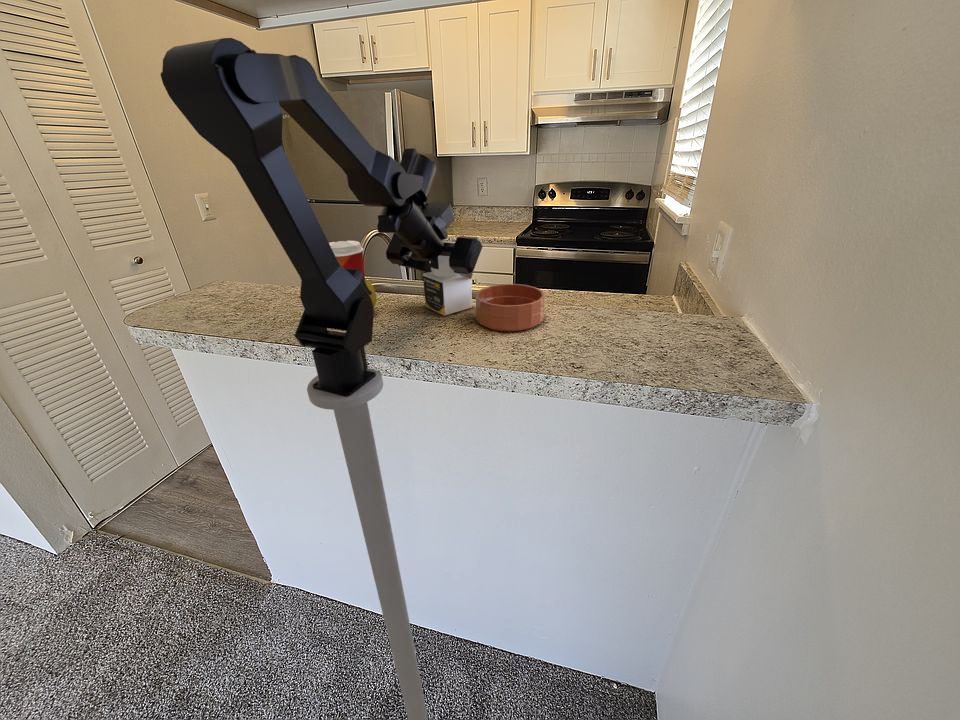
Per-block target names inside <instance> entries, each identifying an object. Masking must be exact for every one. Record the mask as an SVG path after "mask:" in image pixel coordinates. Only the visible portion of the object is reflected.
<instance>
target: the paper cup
mask: <svg viewBox="0 0 960 720" xmlns="http://www.w3.org/2000/svg"><path fill="white" fill-rule="evenodd" d="M329 244H330V246H331V248H332V251H333V253H334V255H335V257H336V259H337V261H338V263H339V264H340V265H341V266H342V267H343V268H348V269H359V270H360V271H361V273H362V274H363V276H364V279H366V274H365V273H366V272H365V265H364V255H363V252H364V248H363V247H362V245H361V243H360V242H359V241H357V240H339V241H332V242H331V241H330V242H329Z"/></svg>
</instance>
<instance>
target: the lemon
mask: <svg viewBox="0 0 960 720" xmlns="http://www.w3.org/2000/svg"><path fill="white" fill-rule="evenodd" d="M365 283H366V285H367V287H368V289H369V290H370V291H371V292H372V295H369V296H370V298H371V300H372V303H373V308H374V309H375V307H376V304H377V291H376V290H375V287H374V286H373V283H372V282H371V281H369V280H368V279H366V278H365Z"/></svg>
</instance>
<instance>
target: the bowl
mask: <svg viewBox="0 0 960 720" xmlns="http://www.w3.org/2000/svg"><path fill="white" fill-rule="evenodd" d="M545 297H546V296H545V292H544V290H541V289H540V288H538V287H535V286H531V285H529V284H520V283H502V284H495V285H494V284H493V285H490V286H486V287H483V288H481V289H479V290H478V291H477V292H476V293H475V319H476V322H478V323H479V324H480V326H481V325H482V326H483V327H485V328H486V329H490V330H494V331H498V332H499V331H500V332H520V331H525V330H530V329H532V328H534V327H537V326H538V325H540V324H541V323H542V322H543V320H544V319H545V303H546V302H545V301H546V300H545V299H546V298H545Z"/></svg>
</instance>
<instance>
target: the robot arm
mask: <svg viewBox="0 0 960 720" xmlns="http://www.w3.org/2000/svg"><path fill="white" fill-rule="evenodd" d="M161 69H162V71H160V79H161V81H162V85H163V87H164V89H165V91H166V93H167V95H168V97H169V98H170V99H171V101H172V102H173V104H174V105H175V106H176V107H177V109H178V110H179V111H180V112H181V114H182V115H183V116H184V118H185V119H186V120H187V122H188V123H189V124H190V126H192V127H193V129H194V130H195V132H196V133H197V134H198V135H199V136H200V137H201V138H203V139H204V140H205V141H207V143H209V144H210V145H211V146H212V147H214V148H215V149H216V150H217V151H218V152H220V153H221V154H222V155H223V156H224V157H226V158H227V159H228V160H229V161H231V163H232V164H233V165H234V167H235V169H236V170H237V172H238V174H239V176H240V177H241V179H242V181H243V182H244V184H245V186H246V187H247V189H248V191H249V193H250V194H251V196H252V198H253V199H254V201H255V203H256V205H257V206H258V208H259V209H260V212H261V213H262V215H263V217H264V218H265V220H266V222H267V223H268V225H269V227H270V229H271V230H272V232H273V233H274V235H275V237H276V239H277V240H278V242H279V244H280V245H281V248H282V249H283V251H284V252H285V254H286V255H287V257H288V259H289V261H290V263H291V264H292V266H293V268H294V269H295V271H296V272H297V274H298V277H299V278H300V280H301V281H300V289H299V290H300V291H299V299H300V301H301V304H302V306H303V308H304V309H303V312H302V315H301V318H300V320H299V323H298V325H297V327H296V330H295V333H294V337H295V339H296V341H297V342H298V344H299V345H300V346H301V347H304V348H305V347H309V348H313V349H312V350H311V354H312V358H313V362H314V367H315V370H316V375H318V378H319V381H317V382H316V383H314V384H313V385H312V386H313V388H314V389H317V390H321V391H325V392H329V393H332V394H336V395H340V396H344V397H348V396H350V395H352V394H353V393H354V392H356V391H357V390H358V389H360V388H361V387H362V386H364V385H365V384H366V383H368V382H369V381H370V380H371V379H373V378H374V377H375V376H376V373H375V372H372V371H367V369H369V367H368V361H367V355H366V350H365V346H367V345H369V344H370V343H371V342H372V341H373V331H374V312H375V307H374V308H373V303H372V300H371V298H370V296H369V295H372V292H371V291H370V290H369V289H368V287H367V285H366V283H365V279H366V278H365V279H364V276H363V274H362V273H361V271H360V270H359V269H348V268H343V267H342V266H341V265H340V264H339V263H338V261H337V259H336V257H335V255H334V253H333V251H332V248H331V246H330V244H329V243H330V242H329V240H328V238H327V237H326V234H325V232H324V230H323V228H322V226H321V224H320V222H319V220H318V218H317V216H316V214H315V211H314V210H313V207H312V206H311V205H312V204H310V201H309V199H308V198H307V195H306V193H305V192H304V189H303V187H302V185H301V183H300V181H299V179H298V177H297V175H296V172H295V171H294V168H293V166H292V165H291V163H290V161H289V158H288V156H287V155H286V152H285V150H284V147H283V144H282V143H283V111H285V113H286V114H288V116H290V118H291V119H292V120H293V121H294V122H295V123H296V124H297V125H298V126H299V127H300V128H301V129H302V130H303V131H304V132H305V133H306V134H307V135H308V136H309V137H310V138H311V139H312V140H313V141H314V142H315V143H316V144H317V145H318V146H319V147H320V148H321V149H322V150H323V151H324V152H325V153H326V155H328V156H329V158H331V160H333V161H334V162H335V164H337V166H339V167H340V169H341V170H342V171H343V173H344V174H345V176H346V182H347V186H348V187H347V188H349V190H350V191H351V192H352V194H353V195H354V196H355V198H356V199H357V200H358V202H359V203H360V204H361V205H362V206H364V207H371V208H372V207H374V208H375V207H377V208H382V209H381V212H380V214H378V215H377V220H378V222H377V225H376V228H377V232H378V233H379V234H387V233H388V234H391V233H392V236H391V238H390V241H389V244H388V246H387V248H386V250H385V255H386V259H387V260H388V261H389V262H390V263H391V264H393V265H398V266H400V267H403V268H408V269H412V270H415V271H420V272H423V273H428V272H432V271H431V263H430V262H435V260H436V257H438V256H439V255H441V256H450V257H449V266H450V268H451V269H452V270H454V273H456V274H459V275H461V276H463V277H466V278H468V279H471V280H472V278H473V275H474V274H473V272H474V270H475V268H476V266H477V262H478V260H479V257H480V254H481V252H482V249H483V247H484V246H483V244H482V243H481V241H480V239H479V238H478V237H477V236H466V235H460V236H457V237H456V239H455V241H454V242H446V241H444V240H447V238H448V235H449V232H448V231H447V229H448V228H449V227H450V225H451V224H453V222H455V220H456V217H455V214H454V211H453V208H452V205H451V202H449V201H431V202H427V201H428V199H429V195H430V192H431V189H432V186H433V183H434V180H435V177H436V173H437V165H436V163H435V162H434V161H432V160H431V159H430V158H429V157H427V156H426V155H424V154H422V153H419V152H418V151H417V149H416V147H413V148H404V149H403V152H402V155H401V161H400V163H399V162H397V160H396V159H395V158H393V157H392V156H391V155H389V154H387V153H384V152H382V151H380V150H378V149H376V148H375V147H374V146H373V145H371V143H370V142H369V141H368V140H367V139H366V137H365V136H364V135H363V134H362V133H361V131H360V130H359V129H358V128H357V126H356V125H355V124H354V123H353V122H352V120H351V119H350V118H349V116H348V114H346V112H345V111H344V109H342V108H341V106H340V105H339V104H338V103H337V102H336V100H335V99H334V98H333V97H332V95H331V94H330V93H329V92H328V90H327V89H326V88H325V87H324V85H323V84H322V83H321V82H320V80H319V79H318V75H317V72H316V69H315V68H314V67H313V65H312V63H311V62H309V60H308V59H307V58H304V57H302V56H299V55H297V54H291V55H290V54H289V55H284V54H281V53H269V52H268V53H266V52H265V53H264V52H263V53H262V52H257V51H256V50H254V49H252V48H250V47H249V46H247V45H246V44H245V43H244V42H242V41H241V40H238V39H235V38H233V37H221V38H216V39H210V40H205V41H200V42H199V41H198V42H194V43H187V44H182V45H181V44H180V45H176V46H173V47H171V48H169V49H168V50H167V51H166V53H165V55H164V57H163V58H162V68H161ZM329 329H331V330H329ZM343 331H344V332H343Z"/></svg>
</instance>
